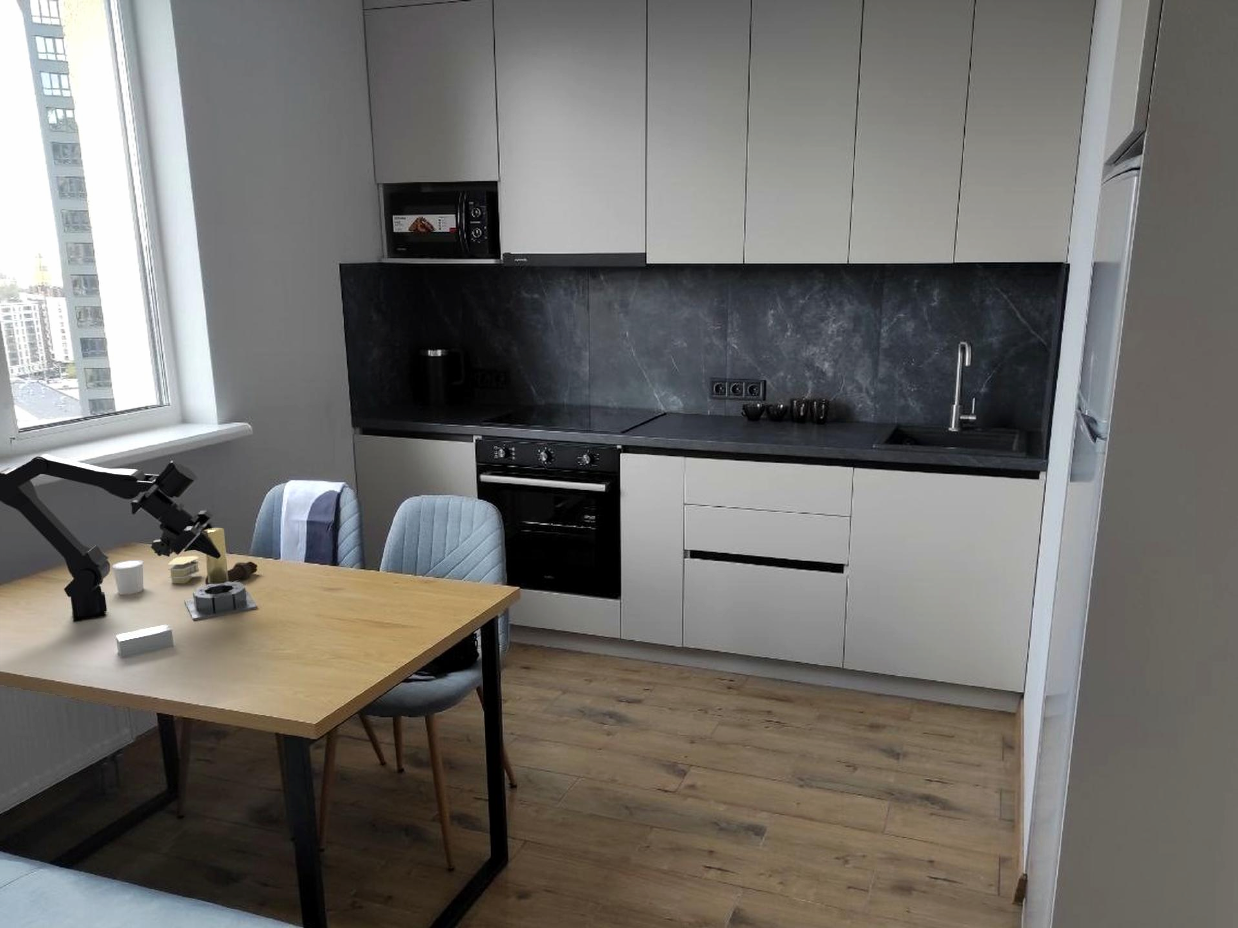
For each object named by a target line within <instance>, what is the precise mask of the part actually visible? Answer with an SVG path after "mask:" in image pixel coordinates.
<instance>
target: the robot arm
mask: <svg viewBox="0 0 1238 928" xmlns="http://www.w3.org/2000/svg"><path fill="white" fill-rule="evenodd" d="M40 475H44V476H45V475H46V476H50V477H52V478H53V477H54V478H59V479H63V480H67V481H71V482H77V483H80V484H85V485H90V486H94V487H98V488H100V489H102V490H103V491H106V493H108V494H110V495H113V496H115V497H118V498H121V499H124V500H132V501H131V502H130V506H131V514H132V515H136V514H137V513H138V512H139V511H140V510H142V511H143V512H145V514H148V515H149V516H150V517H152V518H153V519H154V520H156V521H157V522H158V523H159V524H160V525H158V526H159V529H160V530H161V531H163V532H162V534H161V536H160V537H159V539H155V540H154V541H153V542H152V544H151V546H150V548H151V550H153V553H154V554H156V555H157V556H158V557H161V556H164V557H170V556H171V554H173V553H174V554H176V555H177V556H178V555H180V554H181V552H183V553H186V552H188V551H197V552H199V553H202V554H204V555H206V554H207V555H209V556H212V557H214V558H217V559H218V558H220V556H221V554H220V553H219V551H218V549H217V548H216V547H215V545H214V544H213V542H212V541H211V539H210V538H209V537H208V535H207V534H206V532H205V531H204V530H206V529H210V528H215V526H214V524H213V520H210V519H211V518H212V517H213V513H211V512H210V511H208V510H206V509H204V510H200V511H199V512H198V513H197V514H194V515H193V514H192V513H190V512H189V511H188V510H186V509H185V505H184V504H183V503H182V502H180V504H179V503H177V502H176V501H175V500H174V498H181V497H182V496H183V495H184V494H185V493H186V492H187V490H189V488H190V487H192V485H193V484H194V483H195V482H196V481H197V480H198V477H197V476H196V474H195V472H193V470H191V469H190V468H189V467H186V466H184V465H182V464H180V463H177V462H176V461H174V460H171V461H170V462H169V463H167V465H166V466H165V468H164V470H162V472H161V473H160V474H150V473H148V474H147V473H144V472H143V471H141V470H139V469H135V468H133V469H132V468H105V467H101V466H97V465H92V464H88V463H84V462H79V461H75V460H71V459H66V458H62V457H58V456H54V455H51V454H49V453H41V454H38V455H37V456H35V457H33V458H32V459H31V460H30V461H27V462H26V463H24V464H22V465H20V466H18V467H12V466H11V467H7V468H5V469H3V470H0V502H1V503H2V504H4V505H6V506H7V507H10V508H12V509H14V510H16V511H18V512H19V513H20V514H21V515H22V516H23V517H24V518H25V520H27V521H28V523H30V524H31V526H32V527H33V528H34V529H36V531H37V532H38V533H39V534H40V535H41V536H42V537H43V538H44V539H45V540H46V541H47V542H48V543H49V544H50V546H51V547H52V548H53V549H55V551H56V552H57V553H58V554H59V555H60V556H61V557H62V558H63V559H64V562H65V564H66V567H67V570H68V572H69V574H70V575H71V577H72V579H71V581H70V582H69V583H68V584H67V585H66V586H65V587H64V588H63V591H64V592H65V594H66V596H67V597H68V598H70V604H71V609H72V612H71V615H72V622H74V623H76V622H77V623H78V622H83V621H87V620H88V621H89V620H92V619H98V618H104V617H106V612H107V611H108V608H107V599H106V594H105V591H102V586H101V585H102V584H103V582H104V579H105V578H106V577H107V576H108V575H109V573H110V571H111V563H110V562H109V561H108V559H109V556H107V555H105V554H104V553H103V552H102V551H101V549H100V547H98V546H97V545H93V547H92V548H91V547H88V546H85V545H84V544H82V543H81V542H80V541H79V540H78V539H77V538H76V537H75V535H74V534H73V533H72V532H71V531H70V530H69V529H68V528H67V527H66V526H65V525H64V524H63V523H62V522H61V521H60V520H59V519H58V518H57V516H56V515H55V514H54V513H53V512H52V511H51V510H50V509H49V508H48V507H47V506H46V505H45V504H44V503H43V501H42V500H41V499H39V497H38V495H37V491H36V489H35V486H34V484H33V482H32V481H31V480H33V479H35V478H37V477H38V476H40ZM155 486H157V487H156V488H155V489H154V490H153V491H152V492H151V491H150V490H151V489H152V488H153V487H155ZM141 493H144V494H143V495H141V497H140V498H139V499H137V500H133V499H135V498H137V497H138V496H140V494H141ZM208 521H209V522H208ZM207 522H208V523H207Z"/></svg>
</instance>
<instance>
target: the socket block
mask: <svg viewBox="0 0 1238 928" xmlns="http://www.w3.org/2000/svg"><path fill="white" fill-rule="evenodd" d="M184 604H185V606H186V608H187V610H188V612H189V615H190V616H191V618H192V620H193V621H194V622H195V621H199V620H203V619H208V618H215V617H220V616H221V617H222V616H225V615H230V614H231V615H232V614H235V613H236V614H237V613H240V612H242V613H243V612H245V611H246V612H247V611H252V610H257V609H258V605H257V603H256V602H255V601H254V599H253V598H252V596H251V595H250V594H249V592H248V590H247V589H246V586H245V585H244V584H243V583H242V582H240V581H239V582H238V581H235V582H225V583H221V584H207V585H206V584H205V585H202V586H200V587H198V588H196V589H194V590H193V591H192V598H190V599H189V598H188V599H184Z"/></svg>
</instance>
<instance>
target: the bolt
mask: <svg viewBox="0 0 1238 928" xmlns="http://www.w3.org/2000/svg"><path fill="white" fill-rule="evenodd" d="M227 571H228V581H227V582H238V581H247V580H249V579H250V577H251V575H252V574H255V573H256V572H258V564H256V563H254V562H253V561H248V562H242V561H241V562H236V563H235V564H234V566H233V567H232V568H230V569H227ZM204 584H205V585H207V584H209V583H208V575H206V577H205V581H204Z"/></svg>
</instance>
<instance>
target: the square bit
mask: <svg viewBox="0 0 1238 928" xmlns="http://www.w3.org/2000/svg"><path fill="white" fill-rule="evenodd" d="M115 638H116V639H115V640H116V645H117V654H118V655H119V657H120V659H124V658H129V657H133V656H139V655H143V654H147V653H152V652H155V651H159V650H164V649H165V650H166V649H168V648H173V647H174V646H175V645H174V644H175V643H174V639H173V638H174V637H173V630H172V628H171V627H170V625H169V624H163V625H158V626H153V627H148V628H143V629H139V630H134V631H130V632H126V633H120V634H117V635H115Z"/></svg>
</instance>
